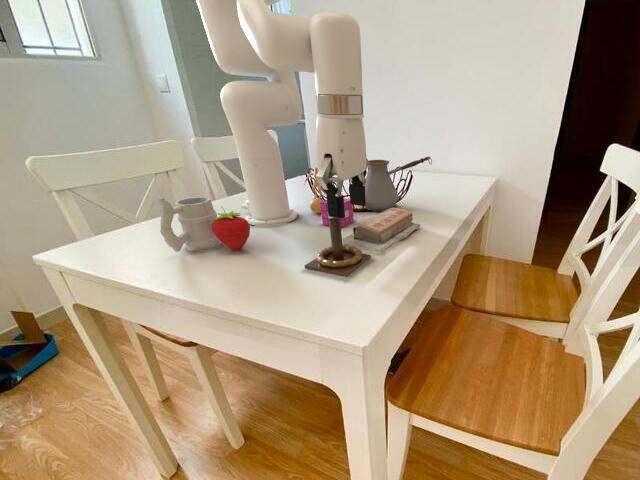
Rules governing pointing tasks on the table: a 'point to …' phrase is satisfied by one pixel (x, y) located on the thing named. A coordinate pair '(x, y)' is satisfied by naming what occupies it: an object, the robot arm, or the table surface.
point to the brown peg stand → (337, 254)
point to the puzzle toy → (343, 221)
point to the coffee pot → (383, 184)
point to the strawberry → (231, 230)
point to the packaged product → (382, 230)
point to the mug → (189, 223)
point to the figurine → (315, 202)
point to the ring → (339, 263)
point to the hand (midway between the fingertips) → (347, 210)
